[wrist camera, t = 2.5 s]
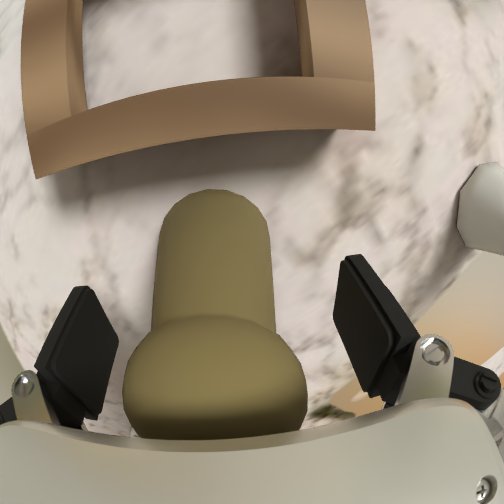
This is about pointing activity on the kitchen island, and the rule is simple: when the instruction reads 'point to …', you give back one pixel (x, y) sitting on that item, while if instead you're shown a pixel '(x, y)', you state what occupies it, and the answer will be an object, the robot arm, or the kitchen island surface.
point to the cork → (213, 331)
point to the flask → (483, 209)
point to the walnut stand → (190, 89)
